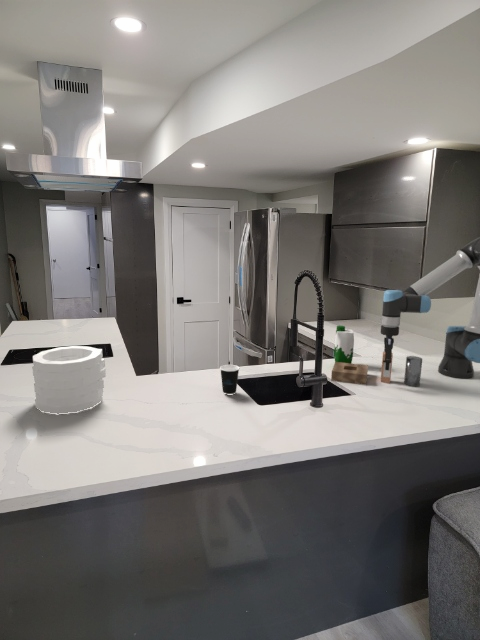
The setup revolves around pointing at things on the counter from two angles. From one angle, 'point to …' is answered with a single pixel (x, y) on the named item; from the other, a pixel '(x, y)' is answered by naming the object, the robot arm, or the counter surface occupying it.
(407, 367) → the round post
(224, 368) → the dixie cup
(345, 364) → the socket block
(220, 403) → the counter surface
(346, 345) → the milk carton
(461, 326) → the robot arm
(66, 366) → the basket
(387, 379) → the square peg
